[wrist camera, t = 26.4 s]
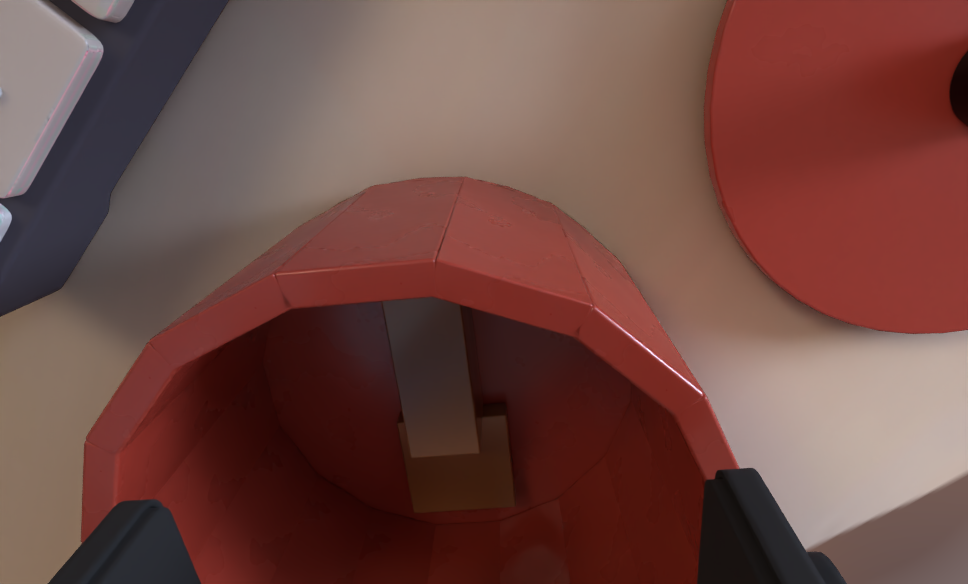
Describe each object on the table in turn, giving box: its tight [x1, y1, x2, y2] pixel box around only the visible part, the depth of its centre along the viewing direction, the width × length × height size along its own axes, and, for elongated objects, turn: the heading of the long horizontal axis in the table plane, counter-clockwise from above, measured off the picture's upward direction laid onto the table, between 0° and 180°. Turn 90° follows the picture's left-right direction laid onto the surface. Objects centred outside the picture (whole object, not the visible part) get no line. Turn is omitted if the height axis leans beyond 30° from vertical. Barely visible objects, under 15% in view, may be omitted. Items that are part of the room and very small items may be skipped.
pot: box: [81, 177, 740, 584], centre depth 16 cm, size 14×14×8 cm
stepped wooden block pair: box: [381, 297, 516, 513], centre depth 18 cm, size 10×4×3 cm, turn 6°
